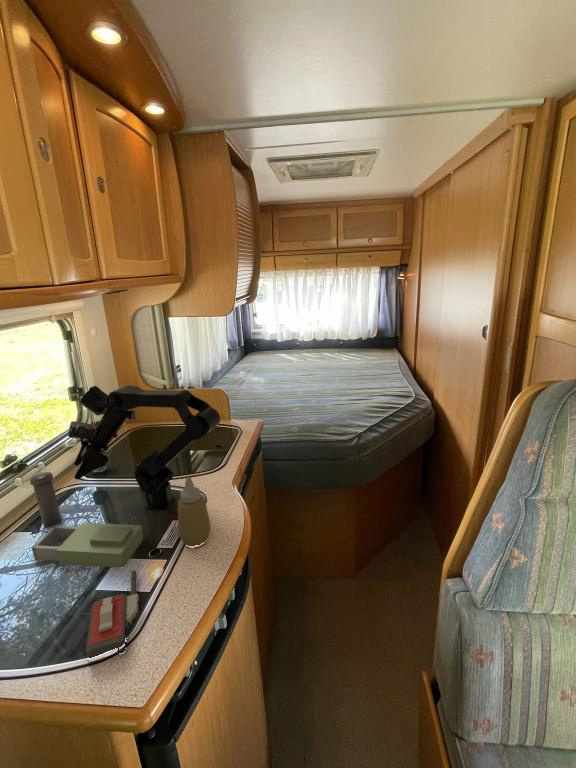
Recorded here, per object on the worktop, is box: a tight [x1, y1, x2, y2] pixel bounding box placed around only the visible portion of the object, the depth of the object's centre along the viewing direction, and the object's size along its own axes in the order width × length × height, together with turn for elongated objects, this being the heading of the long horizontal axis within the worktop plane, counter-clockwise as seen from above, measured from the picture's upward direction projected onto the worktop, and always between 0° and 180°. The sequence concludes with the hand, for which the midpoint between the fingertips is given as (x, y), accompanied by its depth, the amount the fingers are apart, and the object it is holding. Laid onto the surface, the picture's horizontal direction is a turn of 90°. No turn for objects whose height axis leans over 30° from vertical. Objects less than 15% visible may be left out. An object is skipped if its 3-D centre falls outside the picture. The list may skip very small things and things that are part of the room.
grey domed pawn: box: [29, 471, 62, 527], centre depth 104 cm, size 5×5×14 cm
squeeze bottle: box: [177, 477, 212, 546], centre depth 94 cm, size 8×8×18 cm
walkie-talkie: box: [84, 570, 140, 658], centre depth 76 cm, size 9×4×20 cm
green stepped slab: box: [31, 522, 144, 568], centre depth 94 cm, size 23×10×5 cm, turn 84°
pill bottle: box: [92, 449, 108, 473], centre depth 131 cm, size 5×5×8 cm
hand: (75, 471), depth 106 cm, fingers open, 9 cm apart
